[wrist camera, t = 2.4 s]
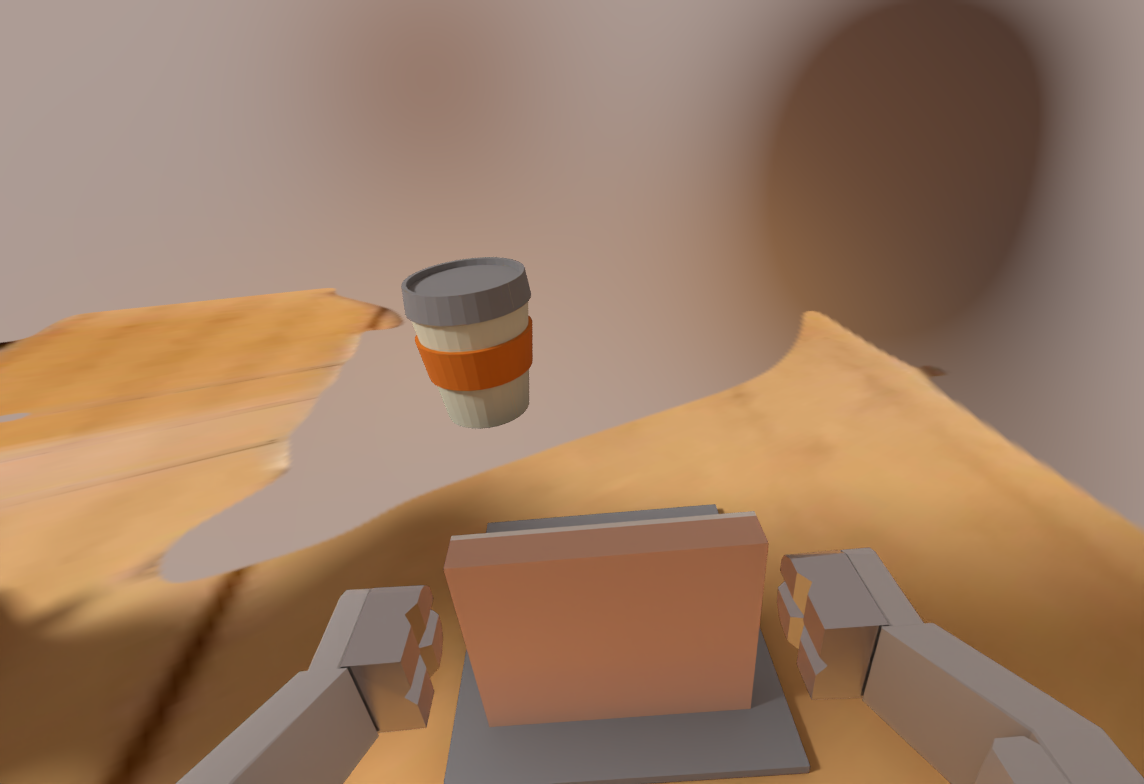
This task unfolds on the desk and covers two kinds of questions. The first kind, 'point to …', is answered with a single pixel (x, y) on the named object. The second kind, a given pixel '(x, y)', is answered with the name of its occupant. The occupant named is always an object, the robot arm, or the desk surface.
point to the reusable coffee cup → (474, 336)
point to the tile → (611, 617)
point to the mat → (627, 724)
